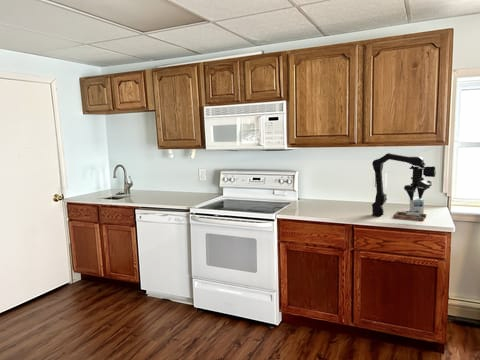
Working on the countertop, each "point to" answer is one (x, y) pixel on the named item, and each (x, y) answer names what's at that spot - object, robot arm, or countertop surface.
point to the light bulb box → (417, 205)
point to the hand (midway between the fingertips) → (416, 199)
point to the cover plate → (414, 214)
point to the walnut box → (403, 216)
